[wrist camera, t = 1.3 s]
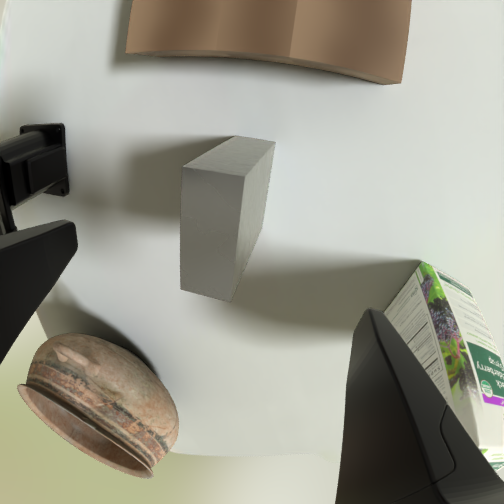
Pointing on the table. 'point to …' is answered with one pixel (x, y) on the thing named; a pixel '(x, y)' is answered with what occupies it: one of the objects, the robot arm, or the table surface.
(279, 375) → the table surface
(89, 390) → the cooking pot
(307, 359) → the table surface
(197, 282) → the upright grey stone slab
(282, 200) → the table surface
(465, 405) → the syrup box
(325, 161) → the table surface
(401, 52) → the post block
